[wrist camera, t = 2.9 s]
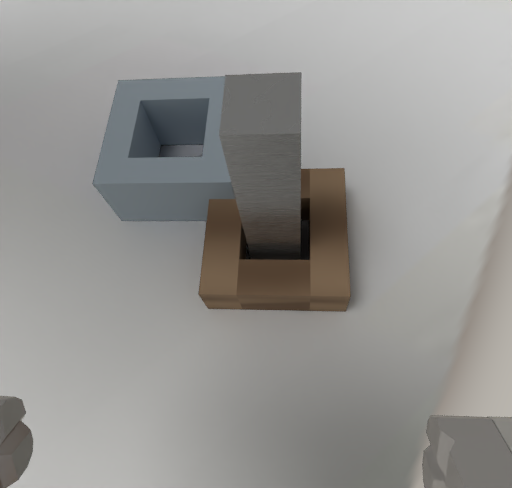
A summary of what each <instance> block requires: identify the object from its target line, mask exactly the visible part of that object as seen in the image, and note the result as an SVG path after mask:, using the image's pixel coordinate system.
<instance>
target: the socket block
mask: <svg viewBox="0 0 512 488" xmlns="http://www.w3.org/2000/svg"><path fill="white" fill-rule="evenodd" d="M301 220H309V260H253V259H246V246H247V241H246V237H245V233H244V229H243V226H242V222H241V218H240V214H239V210H238V206H237V203H236V199H209V205H208V214H207V223H206V232H205V241H204V250H203V259H202V268H201V277H200V286H199V295H200V297H201V298H202V300H203V302H204V303H205V305H206V306H207V308H208V309H252V310H301V311H346V308H347V306H348V303H349V300H350V276H349V255H348V234H347V213H346V192H345V172H344V168H332V169H301Z"/></svg>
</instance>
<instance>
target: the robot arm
mask: <svg viewBox="0 0 512 488" xmlns="http://www.w3.org/2000/svg"><path fill="white" fill-rule="evenodd" d="M25 414H26V411H25V408H24V405H23V401H22V400H21V399H19V398H16V397H11V396H0V488H7V487H8V486H10V485H11V484H13V483H14V482H16V481H17V480H19V478H20V477H21V475H22V474H23V472H24V471H25V470H26V468H27V466H28V464H29V461H30V458H31V455H32V452H33V437H32V433H31V430H30V429H29V428H28V427H27V426H26V425H25V424H24V423H23V422H22V419H23V418H24V416H25ZM426 433H427V436H428V439H429V441H430V444H431V445H430V446H428V447H427V448H426V449H425V450H424V453H423V464H422V467H423V482H424V487H425V488H512V417H469V416H468V417H467V416H442V415H430V417H429V419H428V423H427V430H426Z"/></svg>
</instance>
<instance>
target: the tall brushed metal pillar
mask: <svg viewBox="0 0 512 488" xmlns="http://www.w3.org/2000/svg"><path fill="white" fill-rule="evenodd" d="M219 137H220V141H221V145H222V149H223V153H224V156H225V160H226V164H227V168H228V172H229V176H230V179H231V183H232V187H233V191H234V195H235V199H236V203H237V206H238V210H239V214H240V218H241V222H242V226H243V229H244V233H245V237H246V241H247V245H248V249H249V253H250V256H251V259H253V260H300V254H301V72H299V73H272V74H246V75H225V84H224V93H223V103H222V112H221V121H220V131H219Z"/></svg>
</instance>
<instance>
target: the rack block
mask: <svg viewBox="0 0 512 488" xmlns="http://www.w3.org/2000/svg"><path fill="white" fill-rule="evenodd" d="M224 84H225V76H222V77H195V78H168V79H142V80H118V84H117V88H116V92H115V96H114V100H113V104H112V108H111V112H110V116H109V120H108V124H107V128H106V132H105V136H104V140H103V144H102V148H101V152H100V156H99V160H98V164H97V168H96V172H95V176H94V180H93V185H94V186H95V188H96V189H97V190H98V191H99V193H100V194H101V195H102V196H103V198H104V199H105V200H106V202H107V203H108V204H109V205H110V207H111V208H112V209H113V210H114V212H115V213H116V214H117V215H118V217H119V218H120V219H121V220H122V221H207V214H208V205H209V199H235V195H234V191H233V187H232V183H231V179H230V176H229V172H228V168H227V164H226V160H225V156H224V153H223V149H222V145H221V141H220V137H219V131H220V121H221V112H222V103H223V93H224ZM188 144H204V146H203V154H202V157H159V153H160V147H161V145H188Z"/></svg>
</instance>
